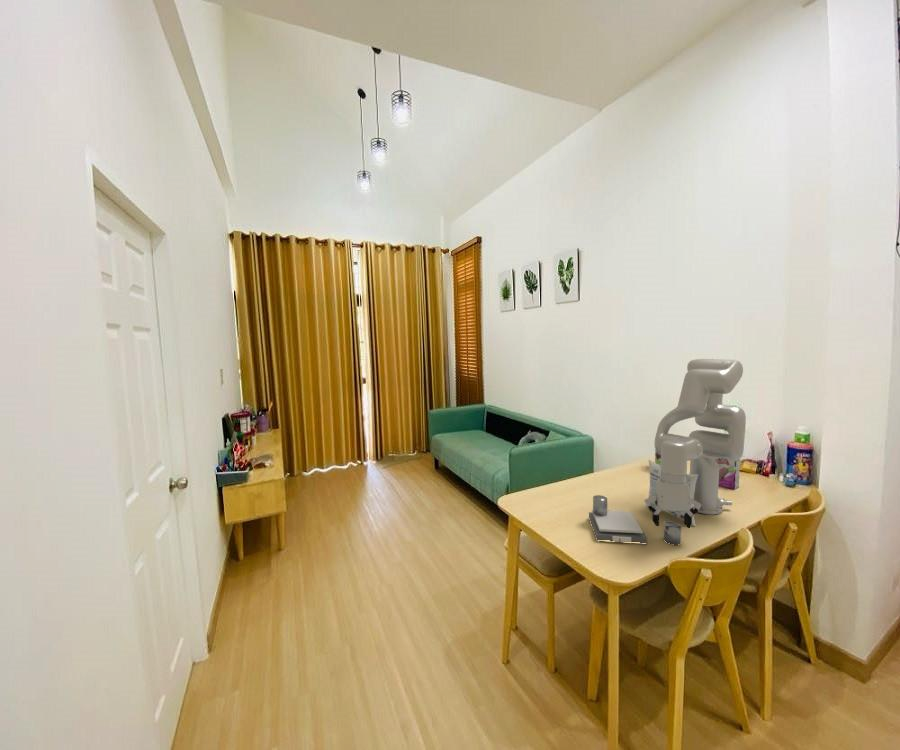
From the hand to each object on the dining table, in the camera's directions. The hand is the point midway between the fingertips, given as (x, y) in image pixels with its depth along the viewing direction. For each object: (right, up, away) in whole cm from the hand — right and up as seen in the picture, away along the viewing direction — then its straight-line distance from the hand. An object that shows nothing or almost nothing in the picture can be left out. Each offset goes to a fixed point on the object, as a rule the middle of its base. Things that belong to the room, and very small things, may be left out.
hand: (671, 525), depth 125 cm
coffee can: (+33, +3, +60) cm, 68 cm away
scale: (-15, -6, +9) cm, 18 cm away
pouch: (+10, -4, +18) cm, 21 cm away
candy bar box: (+48, +1, +42) cm, 64 cm away
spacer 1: (-19, -1, +14) cm, 23 cm away
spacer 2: (+1, -6, +1) cm, 6 cm away
